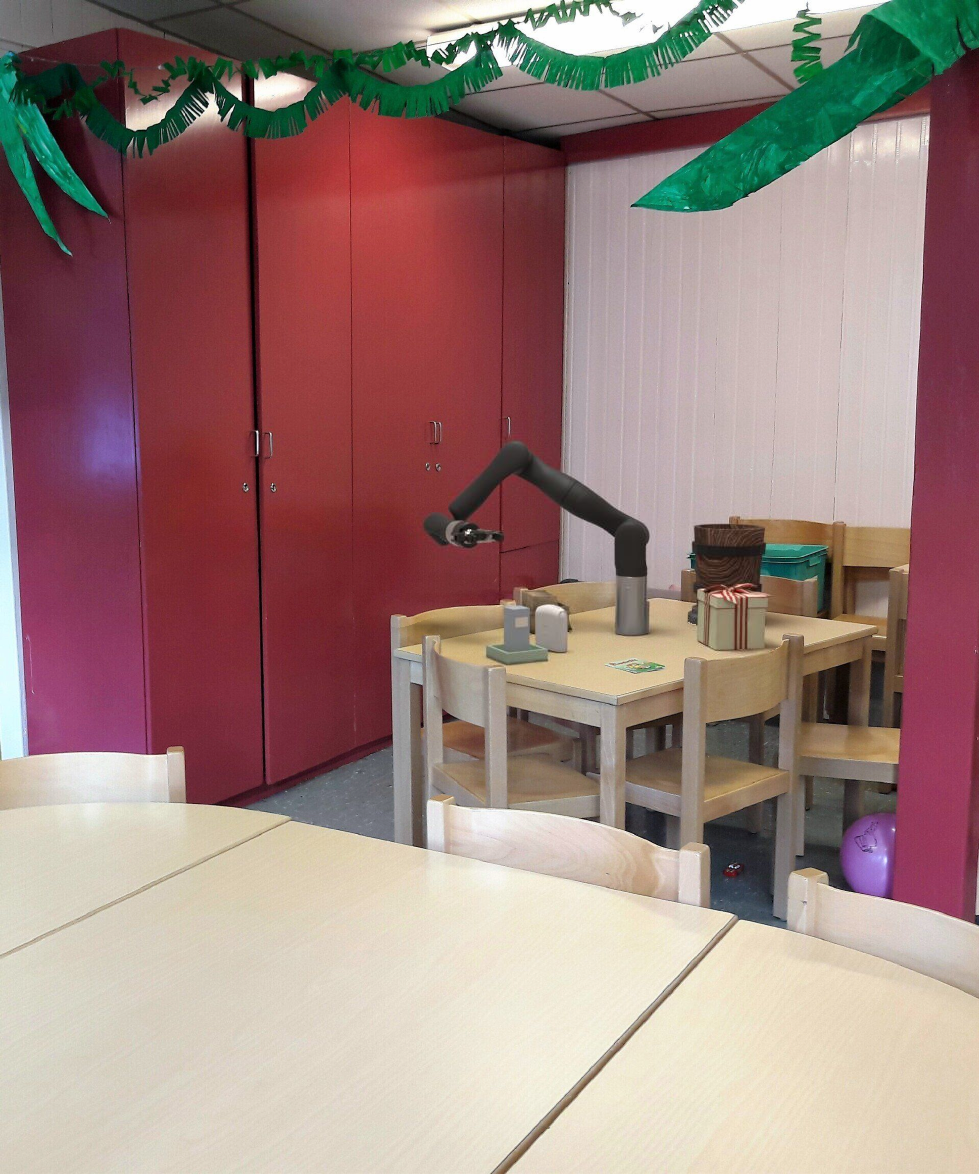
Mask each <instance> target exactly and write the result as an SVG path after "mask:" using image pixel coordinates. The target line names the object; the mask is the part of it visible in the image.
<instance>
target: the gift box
mask: <svg viewBox="0 0 979 1174" xmlns="http://www.w3.org/2000/svg"><path fill="white" fill-rule="evenodd" d="M750 587H758V586H757V585H753V584H749V583H746V584H737V585H736V586H734V587H732V588H729V587H726V586H724V585H714V586H709V587H708V588H706V589H698V592H697V600H699V601H698V625H697V626H696V627H697V628H696V640H697V641H699V642H700V643H702V644H703V645H705V644H706V645H705V646H707V645H708V646H707V647H709V646H710V647H709V648H711V649H712V648H713V650H714V649H715V650H714V651H737V650H736V649H748V650H761V649H760V648H764V649H765V640H766V639H765V638H766V637H765V634H766V626H765V619H766V620H767V614H766V613H767V609H768V606H769V598H774V597H775V596H773V595H771V594H769V593H765V592H762V591H761V592H756V591H752V590H750ZM731 649H732V650H731Z"/></svg>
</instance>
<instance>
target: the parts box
mask: <svg viewBox="0 0 979 1174" xmlns="http://www.w3.org/2000/svg"><path fill="white" fill-rule="evenodd" d="M530 636H531V634H530V608H527V607H524V606H522V605H511V606H504V607H503V644H504V651H505V652H508V653H511V652H521V651H530V643H531V641H530Z"/></svg>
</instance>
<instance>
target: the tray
mask: <svg viewBox="0 0 979 1174" xmlns="http://www.w3.org/2000/svg"><path fill="white" fill-rule="evenodd" d="M485 656H486V657H487V658H489V659H492V660H494V661H496V662H499V663H501V664H503V665H506V666H511V665H519V664H529V663H536V662H537V663H538V661H539V662H547V661H546V660H548V659H549V650H548V649H546V648H543V647H540V646H537V645H535V644H534V643H532V642H530V651H521V652H511V653H508V652H505V651H504V643H497V644H496V643H495V644H488V645H487V644H486V645H485ZM548 661H549V660H548Z"/></svg>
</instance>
